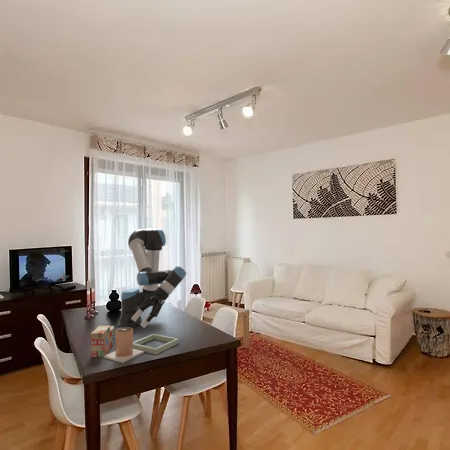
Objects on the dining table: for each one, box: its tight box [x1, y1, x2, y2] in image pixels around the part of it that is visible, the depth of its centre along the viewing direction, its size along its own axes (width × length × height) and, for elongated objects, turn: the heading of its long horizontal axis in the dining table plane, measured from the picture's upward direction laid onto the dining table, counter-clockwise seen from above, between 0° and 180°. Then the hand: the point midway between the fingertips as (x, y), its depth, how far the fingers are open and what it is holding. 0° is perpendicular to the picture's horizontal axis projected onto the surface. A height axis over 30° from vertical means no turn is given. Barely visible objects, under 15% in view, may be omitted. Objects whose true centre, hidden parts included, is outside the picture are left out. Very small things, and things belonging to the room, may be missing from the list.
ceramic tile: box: [103, 349, 145, 364], centre depth 165 cm, size 13×14×1 cm
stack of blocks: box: [90, 325, 116, 358], centre depth 174 cm, size 21×6×12 cm, turn 4°
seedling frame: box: [133, 333, 179, 355], centre depth 179 cm, size 18×18×2 cm
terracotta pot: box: [115, 327, 134, 357], centre depth 166 cm, size 8×8×12 cm
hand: (137, 323), depth 170 cm, fingers open, 13 cm apart
